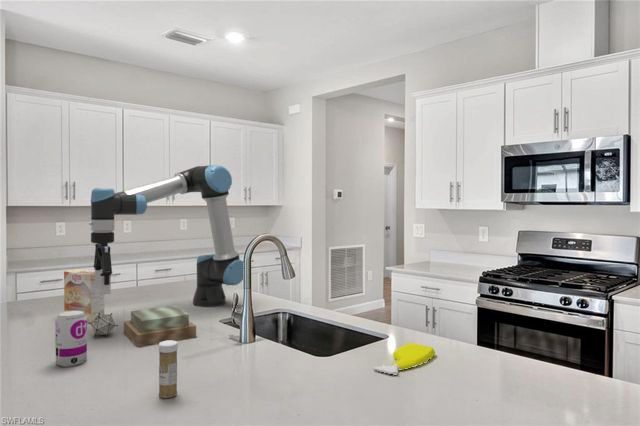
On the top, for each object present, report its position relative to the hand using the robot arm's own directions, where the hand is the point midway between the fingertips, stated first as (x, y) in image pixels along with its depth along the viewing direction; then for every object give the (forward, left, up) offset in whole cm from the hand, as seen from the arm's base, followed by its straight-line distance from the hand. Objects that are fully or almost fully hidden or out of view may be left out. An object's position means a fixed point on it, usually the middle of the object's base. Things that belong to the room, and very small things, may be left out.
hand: (102, 290), depth 165 cm
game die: (0, 0, -16) cm, 16 cm away
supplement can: (+13, +24, -16) cm, 32 cm away
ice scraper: (-71, +80, -17) cm, 108 cm away
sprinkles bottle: (-4, +63, -16) cm, 65 cm away
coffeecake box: (+2, -29, -16) cm, 33 cm away
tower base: (-17, +10, -16) cm, 26 cm away
